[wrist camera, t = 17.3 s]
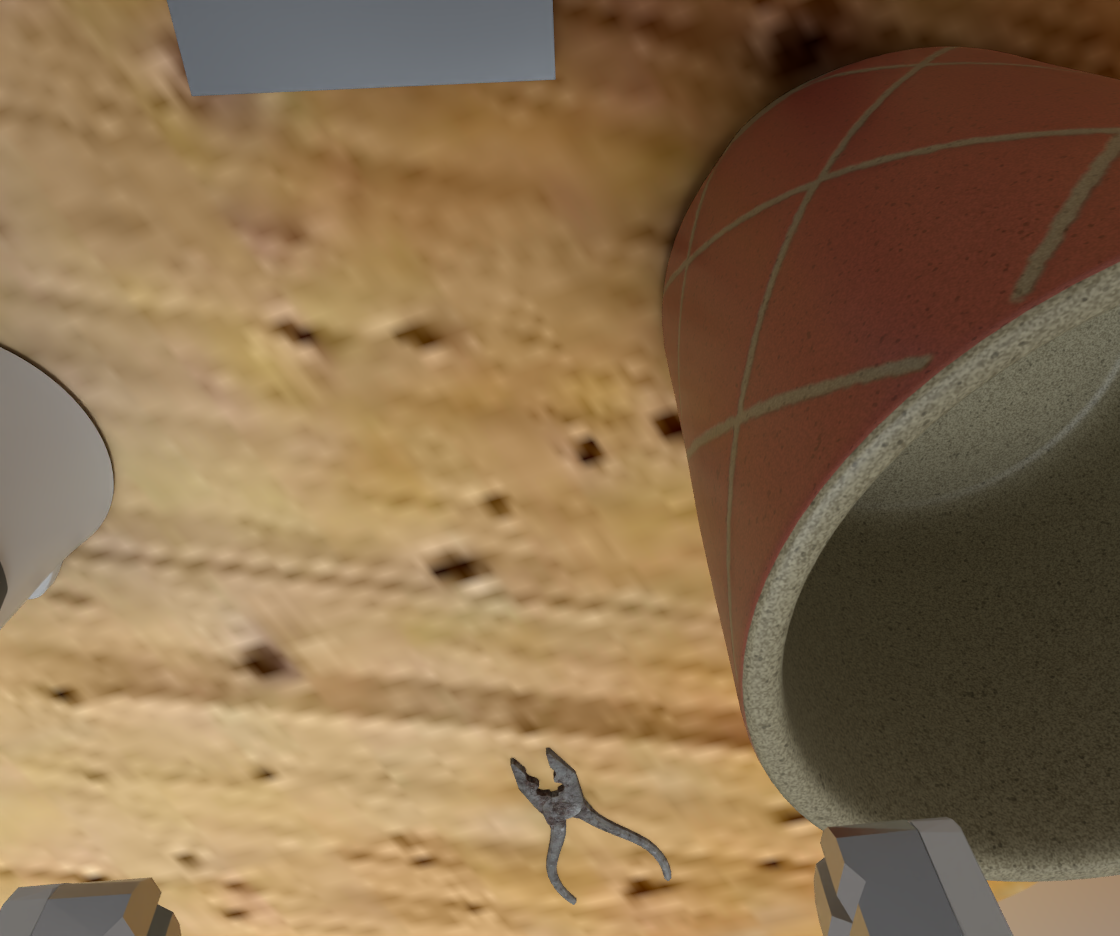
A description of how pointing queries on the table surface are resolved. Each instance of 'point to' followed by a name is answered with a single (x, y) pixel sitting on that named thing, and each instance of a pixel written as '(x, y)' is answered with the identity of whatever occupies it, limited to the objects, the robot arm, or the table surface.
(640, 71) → the table surface
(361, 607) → the table surface
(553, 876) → the pliers
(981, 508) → the planter
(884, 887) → the robot arm
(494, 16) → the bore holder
